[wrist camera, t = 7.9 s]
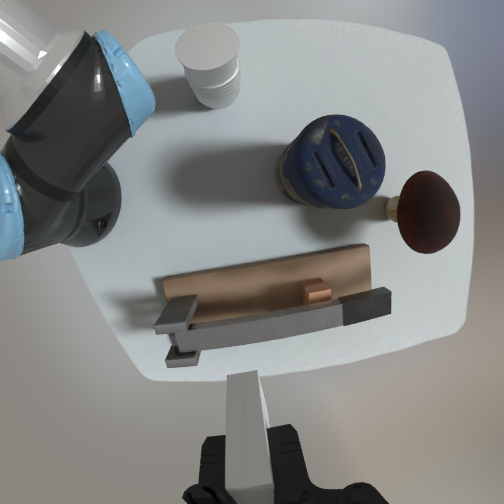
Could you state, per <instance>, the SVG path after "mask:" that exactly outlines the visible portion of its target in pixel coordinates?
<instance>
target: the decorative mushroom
mask: <svg viewBox="0 0 504 504" xmlns="http://www.w3.org/2000/svg"><path fill="white" fill-rule="evenodd" d="M386 215H387V217H388V218H389V219H391V220H392V221H394V222H397V223H398V227H399V231H400V233H401V236H402V238H403V240H404V241H405V243H406V244H407V245H408V246H409V247H410V248H411V249H413V250H414V251H416V252H418V253H423V254H431V253H435V252H437V251H439V250H441V249H443V248H445V247H446V246H447V245H448V244H449V243H450V242H451V241H452V240H453V238H454V237H455V235H456V233H457V231H458V227H459V223H460V205H459V202H458V199H457V197H456V195H455V193H454V191H453V189H452V188H451V187H450V185H449V184H448V183H447V182H446V181H445V180H444V179H443V178H442V177H441V176H439V175H438V174H436V173H434V172H432V171H420V172H417V173H415V174H414V175H412V176H411V177H410V178H409V179H408V180H407V181H406V183H405V185H404V186H403V189H402V191H401V194H400V196H395V197H392V198H391V199H390V200H389V201H388V202H387V204H386Z"/></svg>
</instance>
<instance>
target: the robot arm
mask: <svg viewBox="0 0 504 504" xmlns="http://www.w3.org/2000/svg"><path fill="white" fill-rule="evenodd" d="M155 105H156V101H155V96H154V93H153V91H152V89H151V88H150V86H149V84H148V82H147V81H146V79H145V78H144V76H143V75H142V73H141V72H140V70H139V69H138V67H137V66H136V64H135V63H134V62H133V60H132V59H131V58H130V56H129V55H128V54H127V53H126V52H124V49H123V48H122V47H121V46H120V44H119V42H118V41H117V40H116V39H115V38H114V37H113V36H112V35H111V34H110V33H109V32H108V31H105V30H102V31H99V32H96V33H95V34H93V36H92V37H91V36H90V35H89V34H88V33H87V32H85V31H84V30H83V29H82V28H73V29H66V30H58V29H57V28H56V27H55V26H54V25H52V24H51V23H50V22H49V21H48V20H47V19H45V18H44V17H43V16H42V15H41V14H40V13H38V12H37V11H36V10H35V9H34V8H32V7H31V6H30V5H29V4H28V3H26V2H25V1H24V0H0V114H1V122H2V128H3V129H4V130H5V131H7V132H9V133H11V136H10V137H9V139H8V140H7V142H6V144H5V145H4V147H3V149H2V150H1V152H0V261H3V260H8V259H16V258H18V257H19V256H20V255H23V254H26V253H29V252H32V251H35V250H38V249H41V248H44V247H47V246H51V245H54V244H57V243H62V244H66V245H69V246H73V247H85V246H89V245H91V244H94V243H97V242H99V241H100V240H102V239H103V238H105V237H106V236H107V235H108V234H109V233H110V231H111V230H112V228H113V227H114V225H115V223H116V221H117V219H118V216H119V212H120V208H121V188H120V183H119V180H118V177H117V175H116V173H115V171H114V170H113V168H112V167H111V166H110V165H109V164H108V163H107V161H108V160H109V159H110V158H111V157H112V156H113V154H114V153H115V152H116V151H117V150H118V149H119V148H120V147H121V146H122V145H123V144H124V143H125V142H126V141H127V140H128V139H129V137H130V138H132V137H133V136H134V135H135V133H136V131H137V130H138V128H139V127H140V126H141V125H142V124H143V123H144V122H145V121H146V120H147V119H148V118H149V117H150V116H151V115H152V113H153V112H154V110H155ZM226 400H227V401H226V435H221V436H211V437H207V438H206V440H205V442H204V443H203V445H202V450H201V460H200V464H201V465H200V472H199V483H198V484H195V485H193V486H191V487H189V488H188V489H187V490H186V491H185V492H184V494H183V497H182V498H183V499H184V500H185V501H186V502H187V504H389V503H388V502H387V501H386V500H385V499H384V498H383V496H381V494H380V493H379V492H378V491H377V490H376V489H375V488H374V487H373V486H372V485H370V484H368V483H364V482H360V483H353V484H351V485H348V486H347V487H345V488H344V489H322V488H319V487H317V486H315V485H314V484H312V482H311V481H310V479H309V477H308V473H307V469H306V465H305V461H304V457H303V453H302V449H301V445H300V442H299V437H298V433H297V431H296V430H295V429H294V428H293V427H292V425H291V424H287V425H282V426H277V427H272V428H270V426H269V420H268V413H267V407H266V403H265V399H264V395H263V391H262V387H261V383H260V379H259V375H258V371H257V370H255V371H250V372H244V373H239V374H233V375H227V399H226Z"/></svg>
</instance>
